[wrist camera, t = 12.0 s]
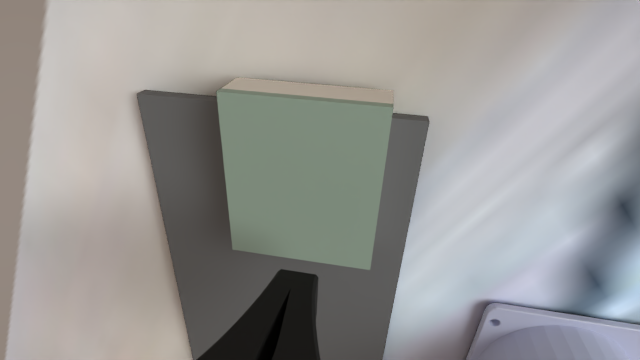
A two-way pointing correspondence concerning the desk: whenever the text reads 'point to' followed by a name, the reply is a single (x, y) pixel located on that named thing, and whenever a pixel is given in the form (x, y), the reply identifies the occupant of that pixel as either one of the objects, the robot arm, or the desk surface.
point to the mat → (259, 269)
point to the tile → (304, 168)
